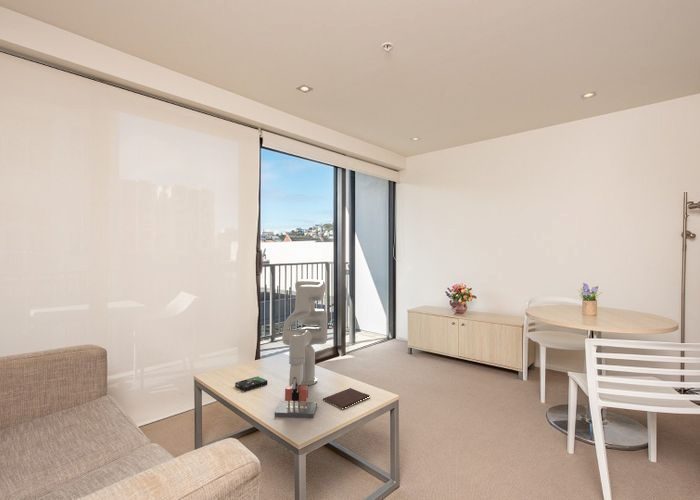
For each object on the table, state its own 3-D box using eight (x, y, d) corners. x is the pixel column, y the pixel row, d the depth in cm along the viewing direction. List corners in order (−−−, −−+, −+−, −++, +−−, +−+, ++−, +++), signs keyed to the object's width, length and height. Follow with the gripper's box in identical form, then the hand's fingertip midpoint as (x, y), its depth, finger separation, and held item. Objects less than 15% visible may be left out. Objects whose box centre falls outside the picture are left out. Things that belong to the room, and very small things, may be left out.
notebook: (322, 401, 181) (322, 397, 181) (349, 390, 194) (349, 387, 194) (342, 410, 170) (342, 406, 170) (370, 398, 184) (370, 395, 184)
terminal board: (281, 405, 174) (281, 393, 174) (317, 406, 173) (317, 394, 173) (274, 416, 162) (274, 403, 162) (313, 418, 161) (313, 405, 161)
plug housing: (287, 396, 170) (287, 384, 170) (307, 396, 170) (308, 385, 170) (284, 400, 165) (285, 389, 165) (306, 401, 164) (306, 389, 164)
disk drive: (244, 392, 190) (267, 385, 201) (244, 387, 190) (267, 380, 201) (234, 387, 197) (257, 380, 208) (234, 382, 197) (257, 375, 208)
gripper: (293, 354, 176) (292, 390, 176) (285, 365, 159) (284, 405, 159) (308, 354, 176) (307, 391, 176) (301, 365, 159) (301, 406, 158)
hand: (296, 397), depth 167 cm, fingers closed on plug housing, 5 cm apart
